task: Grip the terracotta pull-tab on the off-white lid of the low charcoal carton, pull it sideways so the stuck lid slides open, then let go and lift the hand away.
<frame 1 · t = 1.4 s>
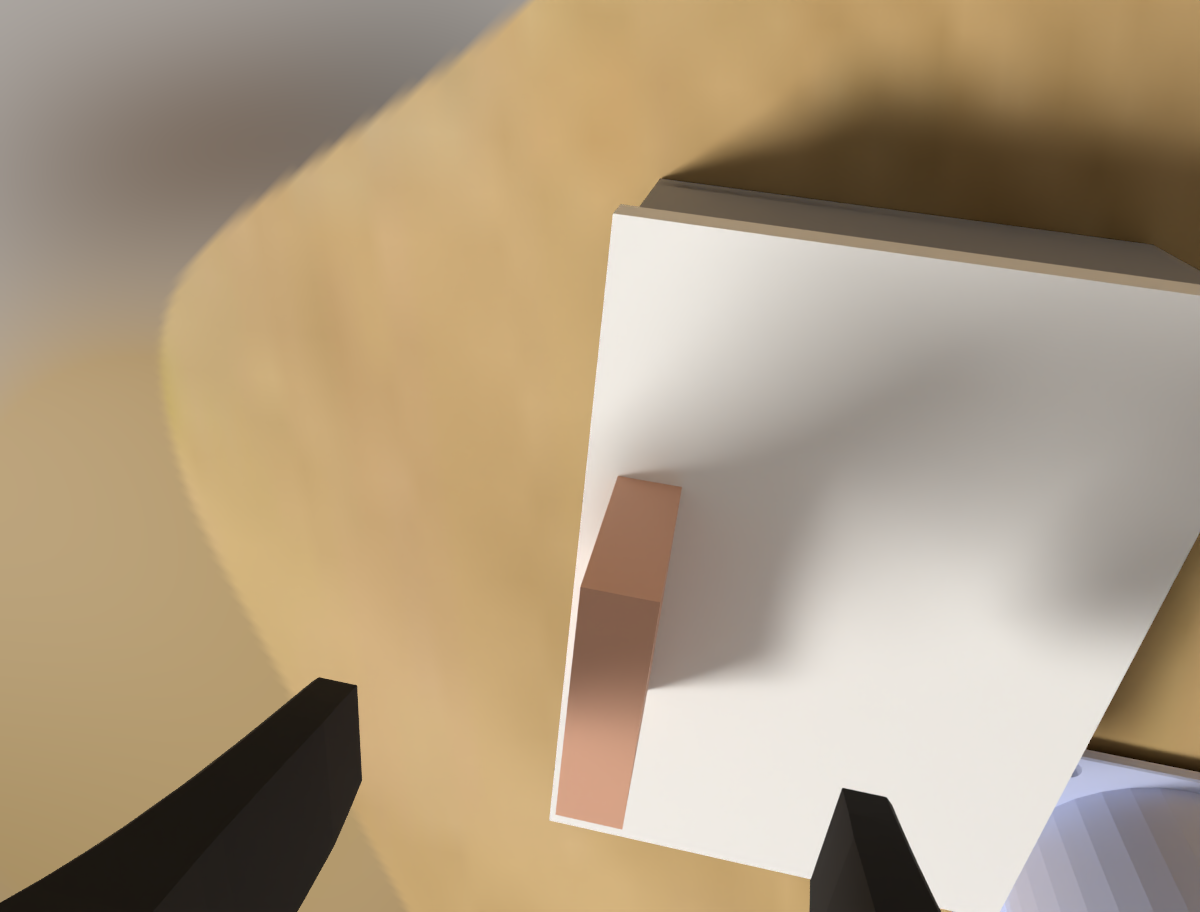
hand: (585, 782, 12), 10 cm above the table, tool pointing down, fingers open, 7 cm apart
carton: (822, 498, 20), on the table
carton lid: (843, 676, 15), point 6 cm above the table, slide at 0.0 cm
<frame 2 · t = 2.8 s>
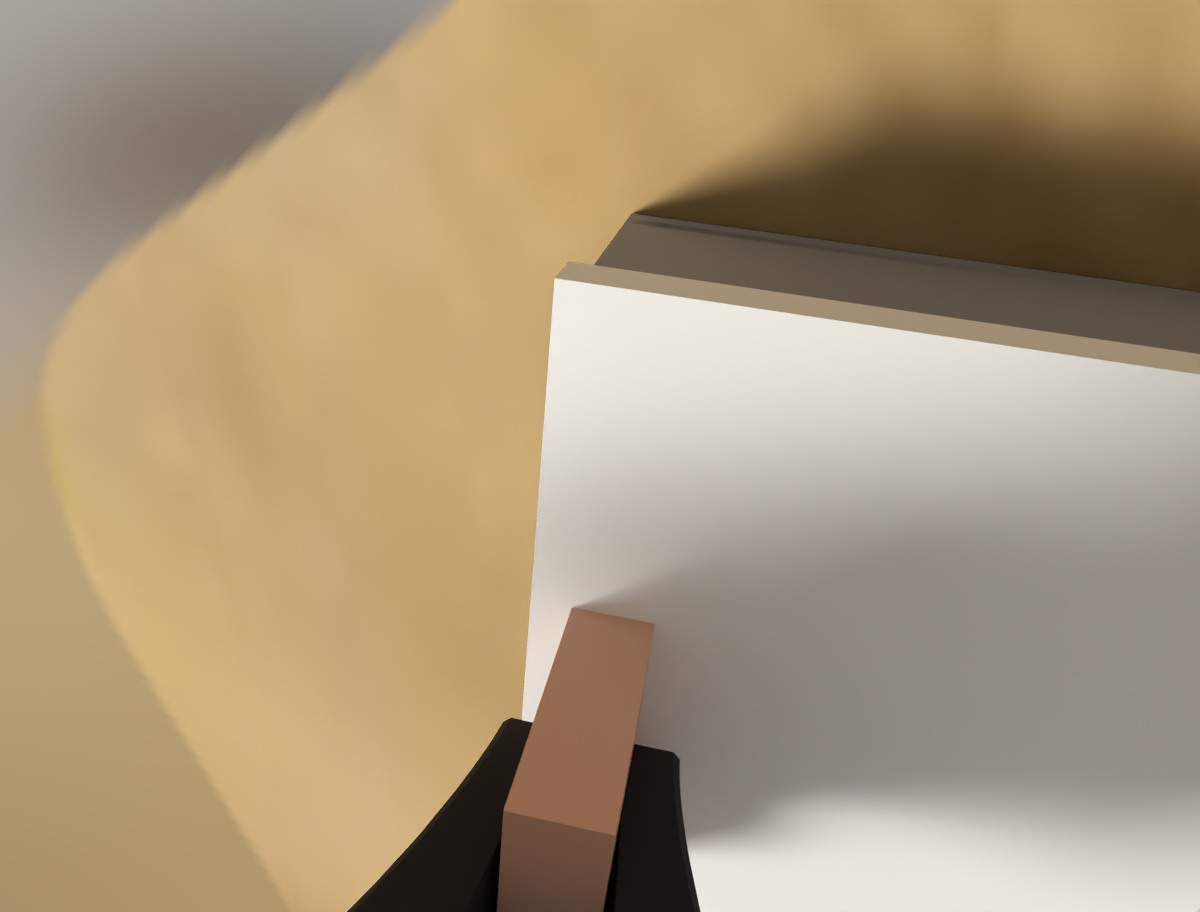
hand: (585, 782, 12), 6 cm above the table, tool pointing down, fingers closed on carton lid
carton: (832, 594, 17), on the table
carton lid: (866, 877, 11), point 6 cm above the table, slide at 0.0 cm, touching gripper
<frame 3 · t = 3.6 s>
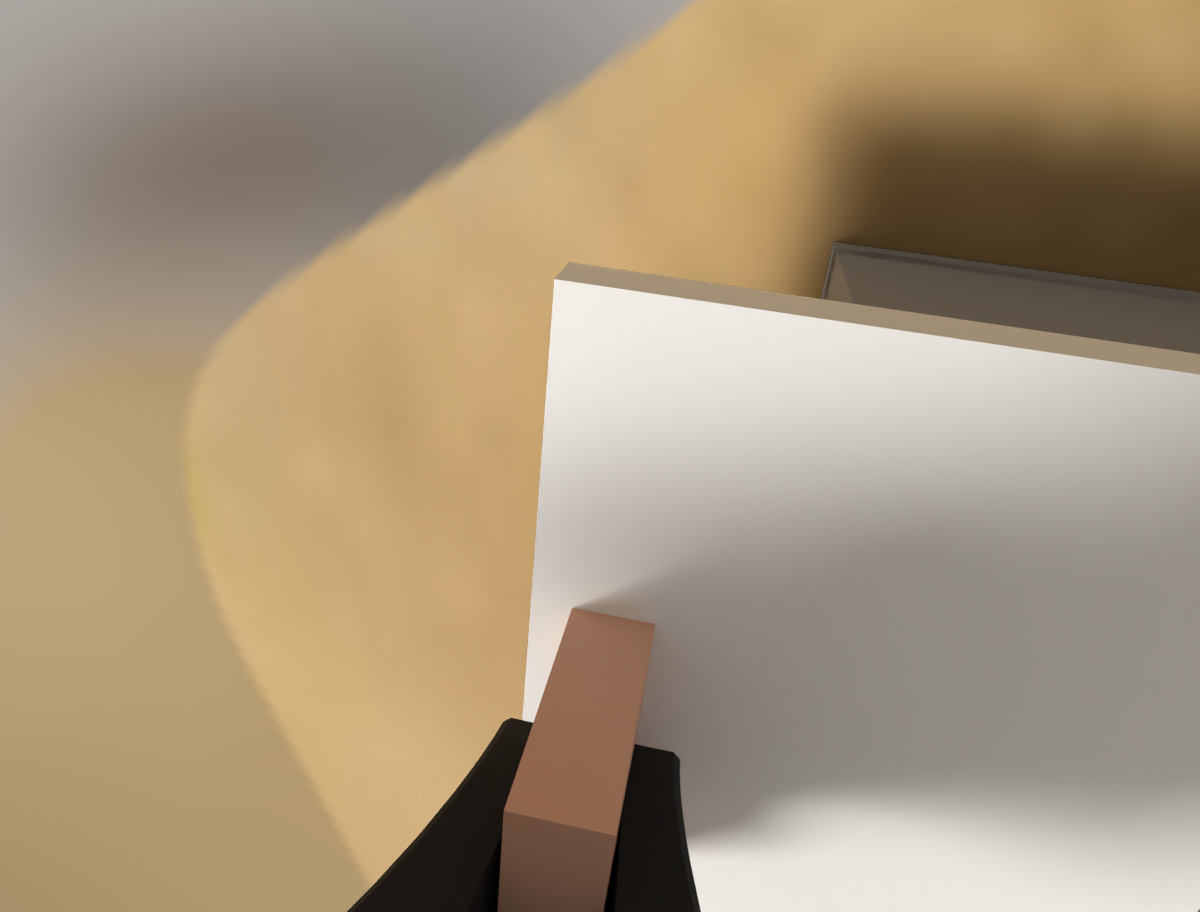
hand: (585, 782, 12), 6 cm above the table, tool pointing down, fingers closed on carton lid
carton: (1005, 626, 17), on the table
carton lid: (866, 877, 11), point 6 cm above the table, slide at 3.4 cm, touching gripper
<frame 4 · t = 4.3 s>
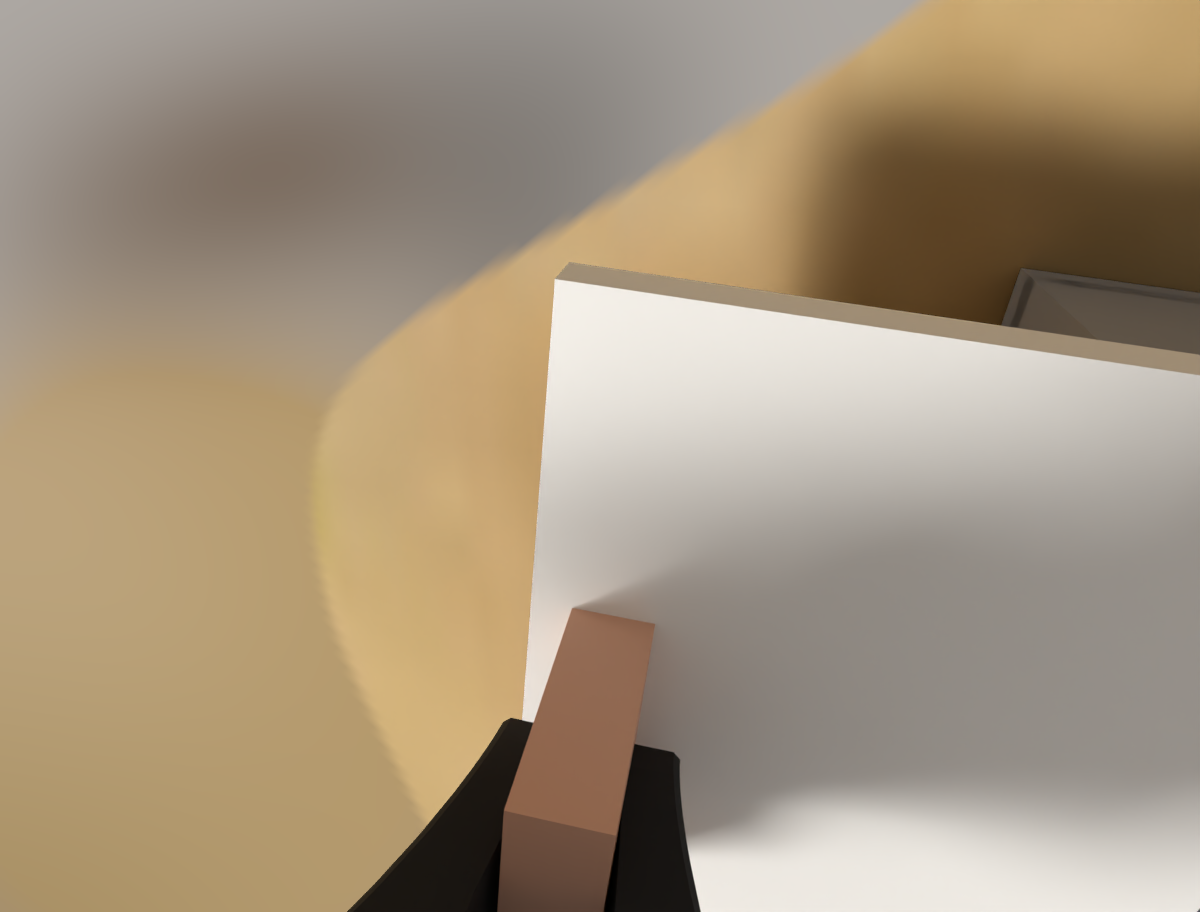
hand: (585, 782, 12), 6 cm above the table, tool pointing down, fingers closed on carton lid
carton: (1164, 656, 16), on the table
carton lid: (866, 877, 11), point 6 cm above the table, slide at 6.4 cm, touching gripper
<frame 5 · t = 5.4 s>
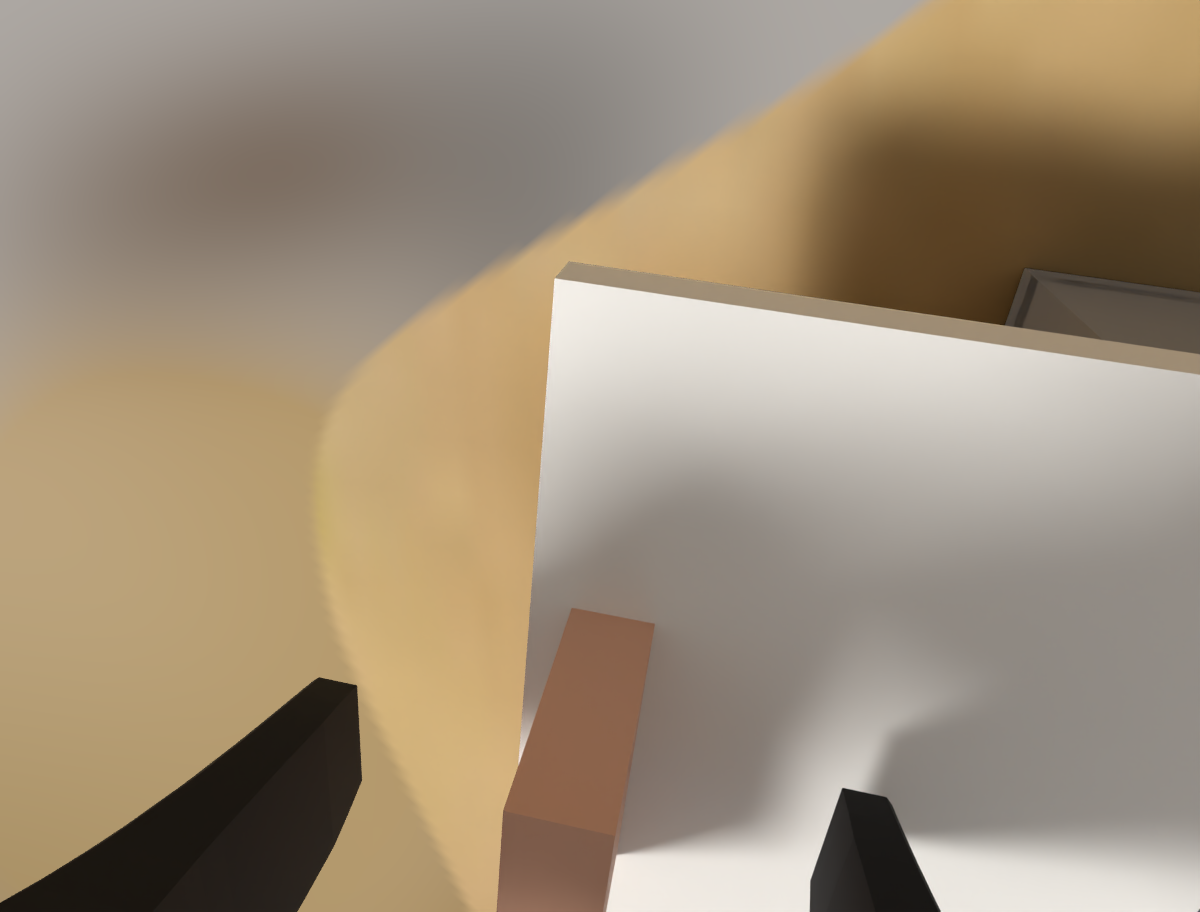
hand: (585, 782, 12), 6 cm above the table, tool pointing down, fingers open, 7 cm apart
carton: (1167, 656, 16), on the table
carton lid: (865, 877, 11), point 6 cm above the table, slide at 6.5 cm
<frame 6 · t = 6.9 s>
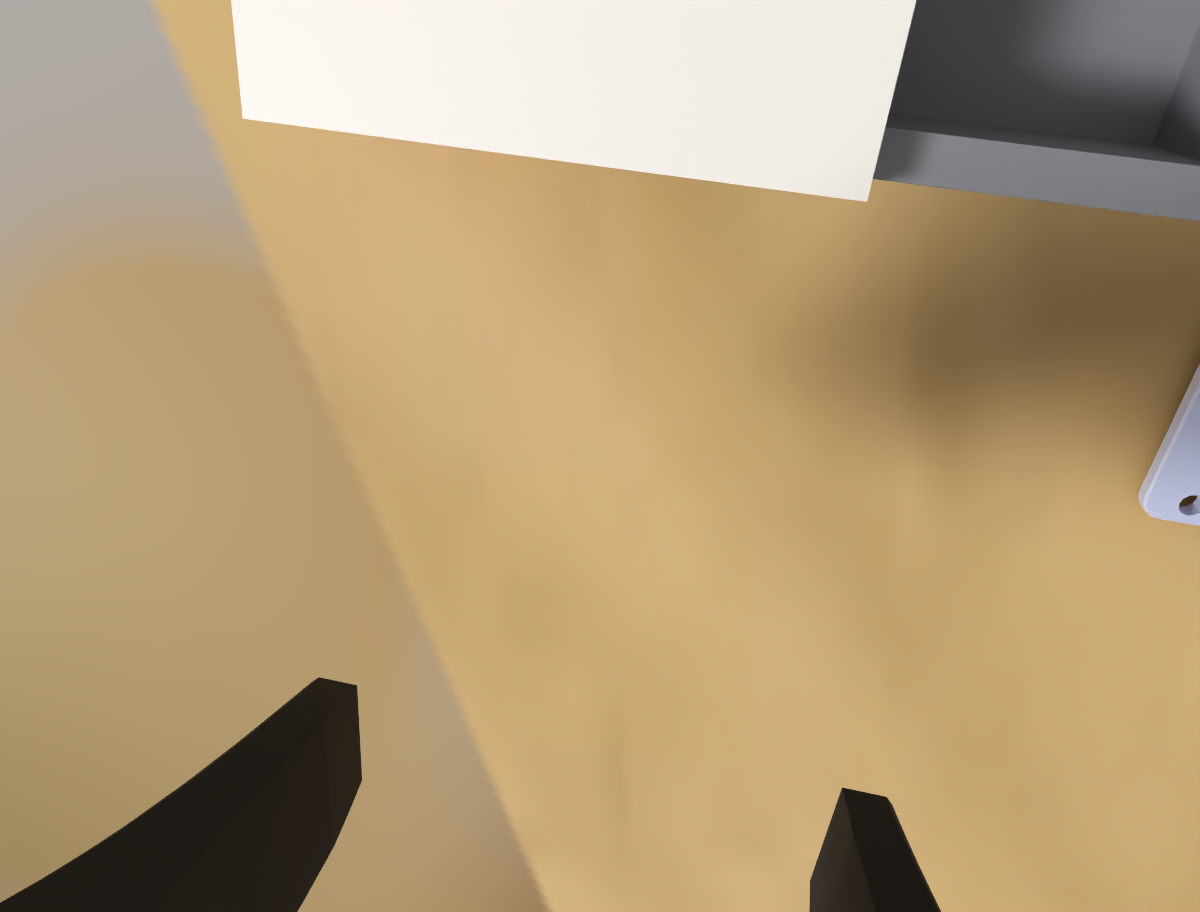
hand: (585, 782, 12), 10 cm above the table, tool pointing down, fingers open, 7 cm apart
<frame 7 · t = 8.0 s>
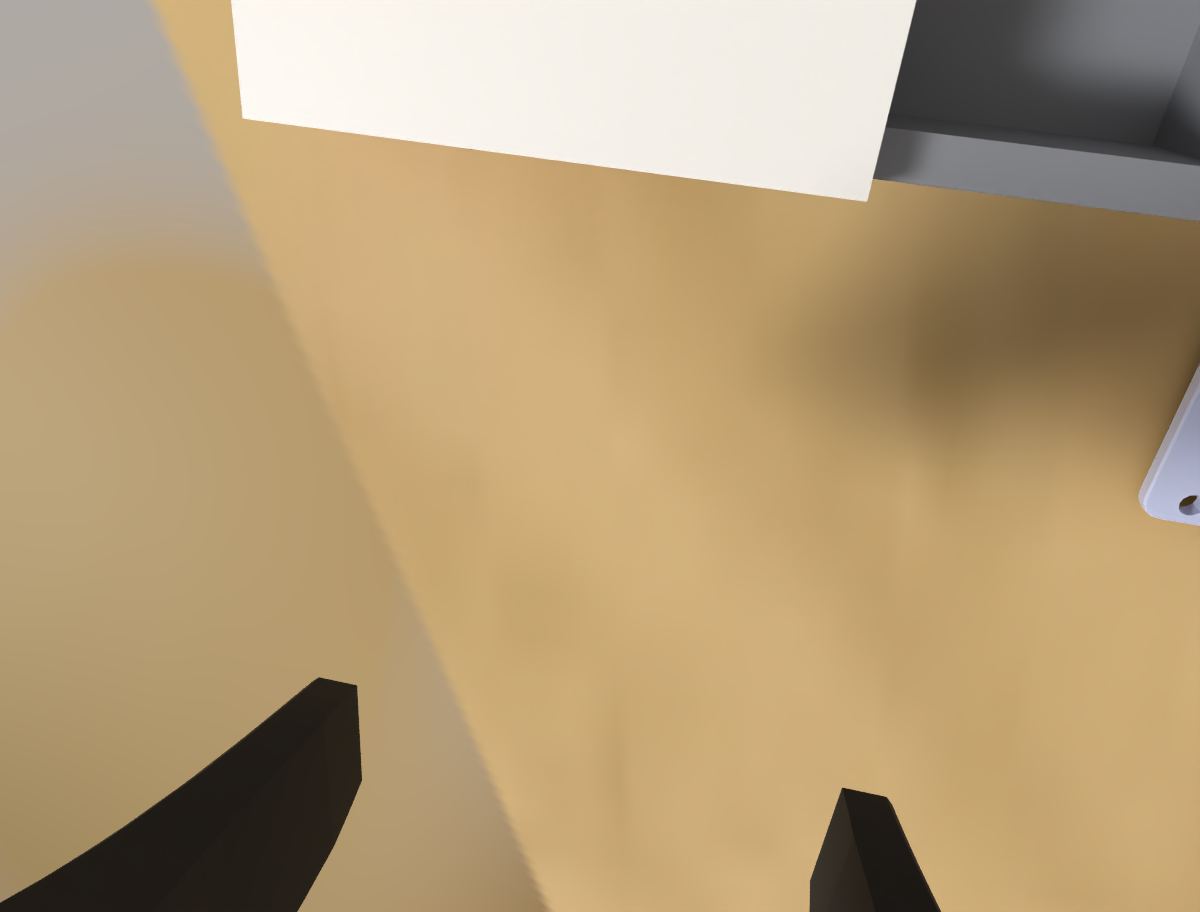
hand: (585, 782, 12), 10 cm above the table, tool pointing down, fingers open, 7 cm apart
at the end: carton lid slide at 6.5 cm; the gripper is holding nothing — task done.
